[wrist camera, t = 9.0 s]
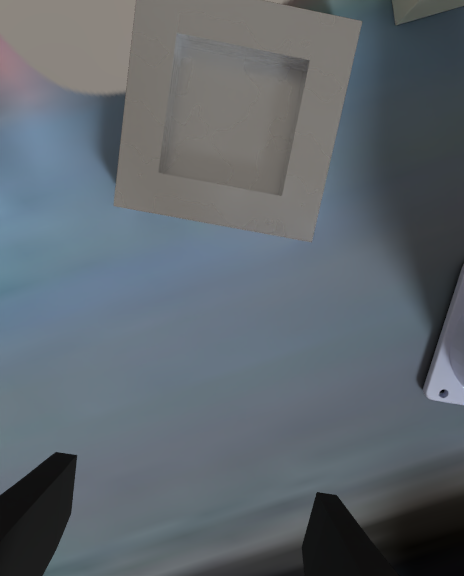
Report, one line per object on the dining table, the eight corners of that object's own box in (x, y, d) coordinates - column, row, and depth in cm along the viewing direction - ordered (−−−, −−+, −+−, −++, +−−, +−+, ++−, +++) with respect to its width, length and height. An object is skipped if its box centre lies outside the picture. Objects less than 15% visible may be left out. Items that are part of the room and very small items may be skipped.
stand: (344, 44, 18) (362, 21, 16) (301, 236, 20) (311, 242, 18) (151, 4, 18) (138, -26, 15) (127, 204, 20) (113, 206, 17)
